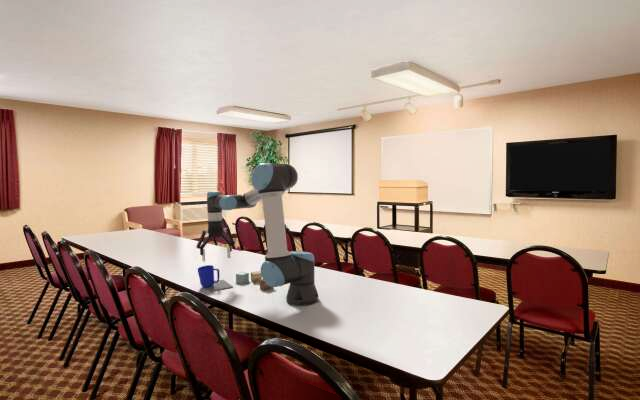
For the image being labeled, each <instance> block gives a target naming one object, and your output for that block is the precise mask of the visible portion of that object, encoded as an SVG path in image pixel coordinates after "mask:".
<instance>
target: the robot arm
mask: <svg viewBox="0 0 640 400" xmlns="http://www.w3.org/2000/svg"><path fill="white" fill-rule="evenodd" d="M251 173H252V174H251V185H252V186H253V188H252V189H250V190H247V192H245V193H242V194H226V195H225V194H224V195H223V194H222V192H221V191H220V190H219V191H217V190H216V191H208V192H207V193H206V206H207V207H206V210H207V220H208V221H207V230H205V229H202V230H201V235H200V237H199V240H198V242H197V244H196V249H199V253H200V254H199V255H200V256H201V258H202V260H201V261H203V263H204V262H206V249H205V247H206V246H207V244H208V243H209V242H210V240H211V239H213V238H214V239H215V238H221V239H222V240H223V241H224V242H225V243H226V244H227V245H226V252H227V253H226V255H227V258H228V259H231V252H232V250H233V249H232V248H233V246H234V245H235V244H236V242H235V240H234V239H233V237H232V235H231V233H230V230H229V228H228V227H224V226H223V224H224V223H223V211H233V210H239V209H240V210H241V209H251V208H254V207H256V206H257V204H258V203H259V202H260V203H261V202H262V208H263V216H264V225H265V226H264V227H265V228H264V229H265V236H266V246H267V247H266V248H267V253H266V254H265V255H264V261H263V263H262V264H261V266H260V272H261V276H262V279H263V280H264V282H266V284H267V285H269V286H270V287H273V288H278V287H283V286H284V285H288V284H289V286H288V290H287V293H286V296H285V299H286V303H287V304H289V305H291V306H292V305H293V306H297V307H298V306H299V307H303V306H304V307H305V306H306V307H307V306H311V305H314V304H317V303H318V302H319V294H318V290H317V288H316V284H315V256H314V254H313V253H312V252H308V251H297V250H294V251H289V250H288V242H287V235H286V234H287V233H286V225H285V213H284V205H283V195H284V194H285V193H286V192H285V191H288V190H289V189H291V188H293V187H295V186H296V184H298V183H297V182H298V180H299V177H298V172H297V170H296V168H295V167H294V166H292V165H291V164H290V163H289V164H288V163H275V162H274V163H273V162H265V163H264V162H263V163H259V164H258V165H256V166H255V167H254V169H253V171H252V172H251ZM223 233H225V234H226V236H225V235H224V234H223ZM207 234H208V236H207V237H206V235H207ZM205 237H206V238H205ZM226 237H227V238H226ZM204 239H205V240H204Z"/></svg>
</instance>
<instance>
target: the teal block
mask: <svg viewBox="0 0 640 400" xmlns="http://www.w3.org/2000/svg"><path fill="white" fill-rule="evenodd" d="M249 275H250V273H249V272H248V271H246V272H245V271H240V272H238V273H235V283H236V284H243V285H244V284H246V283H248V282H249V281H250V277H249Z"/></svg>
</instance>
